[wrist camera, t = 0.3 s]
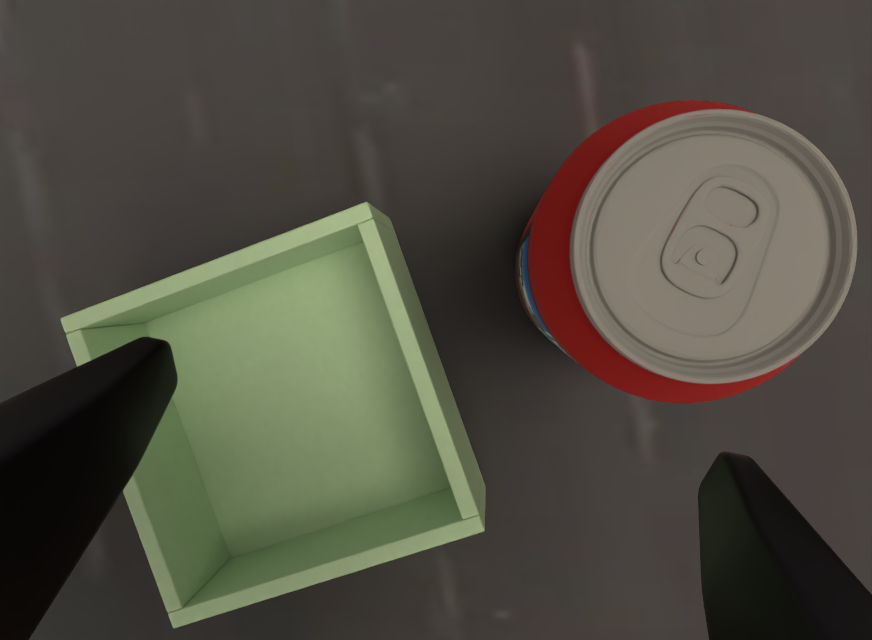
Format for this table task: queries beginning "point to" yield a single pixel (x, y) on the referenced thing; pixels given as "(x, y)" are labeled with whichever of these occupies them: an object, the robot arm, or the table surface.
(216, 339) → the bin
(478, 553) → the table surface
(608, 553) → the table surface
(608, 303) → the beverage can
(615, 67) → the table surface
